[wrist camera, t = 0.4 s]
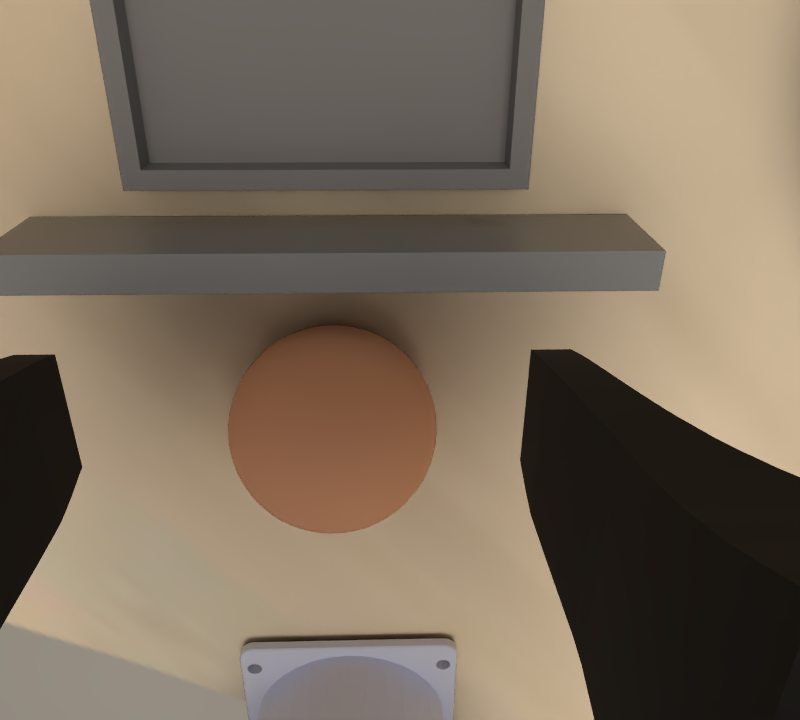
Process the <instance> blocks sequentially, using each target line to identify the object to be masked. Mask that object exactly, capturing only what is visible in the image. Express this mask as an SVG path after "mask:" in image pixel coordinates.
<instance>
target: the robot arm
mask: <svg viewBox="0 0 800 720" xmlns="http://www.w3.org/2000/svg"><path fill="white" fill-rule="evenodd" d="M520 462H521V467H522V473H523V478H524V483H525V489H526V494H527V499H528V503H529V508H530V513H531V516H532V519H533V522H534V525H535V528H536V531H537V534H538V537H539V540H540V543H541V546H542V549H543V552H544V555H545V558H546V560H547V563H548V566H549V569H550V572H551V575H552V578H553V580H554V583H555V586H556V589H557V592H558V595H559V597H560V600H561V603H562V606H563V609H564V612H565V615H566V617H567V620H568V623H569V626H570V629H571V632H572V634H573V638H574V641H575V644H576V648H577V651H578V654H579V658H580V661H581V664H582V668H583V672H584V677H585V681H586V685H587V690H588V694H589V698H590V702H591V707H592V711H593V715H594V720H800V477H798V476H795V475H793V474H790V473H788V472H786V471H783V470H781V469H779V468H776V467H774V466H772V465H770V464H768V463H766V462H763V461H761V460H759V459H757V458H755V457H753V456H751V455H748V454H746V453H744V452H742V451H740V450H738V449H735V448H734V447H732V446H730V445H728V444H726V443H724V442H722V441H720V440H718V439H716V438H714V437H712V436H710V435H709V434H707V433H705V432H703V431H702V430H700V429H698V428H696V427H695V426H693V425H691V424H689V423H687V422H686V421H684V420H682V419H680V418H679V417H677V416H675V415H674V414H672V413H670V412H669V411H667V410H665V409H664V408H662V407H661V406H659V405H657V404H656V403H654V402H653V401H651V400H649V399H648V398H646V397H645V396H643V395H642V394H640V393H639V392H637V391H636V390H634V389H633V388H631V387H630V386H628V385H627V384H625V383H623V382H622V381H620V380H619V379H618V378H616V377H615V376H613V375H612V374H610V373H609V372H607V371H606V370H604V369H603V368H601V367H600V366H598V365H597V364H595V363H593V362H592V361H590V360H589V359H587V358H586V357H584V356H582V355H581V354H579V353H577V352H575V351H573V350H571V349H563V350H531V356H530V366H529V377H528V387H527V397H526V407H525V418H524V428H523V438H522V448H521V458H520ZM81 469H82V464H81V460H80V456H79V452H78V448H77V444H76V440H75V436H74V431H73V427H72V423H71V419H70V415H69V411H68V407H67V403H66V398H65V394H64V390H63V386H62V382H61V378H60V374H59V370H58V365H57V361H56V357H55V355H12V356H9V357H5V358H2V359H0V628H1V627H2V625H3V623H4V622H5V620H6V618H7V616H8V615H9V613H10V611H11V609H12V608H13V606H14V604H15V603H16V601H17V599H18V597H19V596H20V594H21V592H22V590H23V589H24V587H25V585H26V584H27V582H28V580H29V578H30V577H31V575H32V573H33V571H34V570H35V568H36V566H37V565H38V563H39V561H40V559H41V557H42V556H43V554H44V552H45V550H46V549H47V547H48V545H49V543H50V541H51V540H52V538H53V536H54V534H55V532H56V531H57V529H58V527H59V525H60V523H61V521H62V519H63V516H64V514H65V511H66V509H67V506H68V504H69V502H70V499H71V497H72V494H73V491H74V488H75V485H76V483H77V480H78V477H79V474H80V471H81ZM440 660H443V661H440ZM456 661H457V651H456V645H455V643H454V642H453V641H452V640H449V639H445V638H431V639H384V640H338V641H291V642H253V643H248V644H246V645H244V647H243V648H242V651H241V656H240V662H241V669H242V676H243V683H244V690H245V697H246V704H247V710H248V717H249V720H453V711H454V694H455V677H456ZM254 664H257V665H254Z"/></svg>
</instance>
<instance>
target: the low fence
mask: <svg viewBox="0 0 800 720" xmlns="http://www.w3.org/2000/svg"><path fill="white" fill-rule="evenodd" d="M665 253H666V251H665V250H664V249H663V248H662V247H661V246H660V245H659V244H658V243H657V242H656V241H655V240H654V239H653V238H651V237H650V236H649V235H648V234H647V233H646V232H645V231H644V230H643V229H642V228H641V227H640V226H639V225H638V224H637V223H635V222H634V221H633V220H632V219H631V218H630V217H629V216H628V215H627V214H559V215H345V216H130V217H29V218H28V219H26V220H25V221H23V222H22V223H20V224H19V225H17V226H16V227H15V228H13V229H12V230H10V231H9V232H7V233H6V234H4V235H3V236H1V237H0V296H22V295H151V294H280V293H409V292H539V291H659V286H660V280H661V275H662V270H663V264H664V259H665Z"/></svg>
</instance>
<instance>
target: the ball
mask: <svg viewBox="0 0 800 720" xmlns="http://www.w3.org/2000/svg"><path fill="white" fill-rule="evenodd" d="M228 431H229V446H230V451H231V456H232V459H233V463H234V465H235V468H236V471H237V473H238V475H239V477H240V479H241V481H242V482H243V484H244V486H245V487H246V489H247V490H248V492H249V493H250V494H251V496H252V497H253V498H254V499H255V500H256V501H257V502H258V503H259V504H260V505H261V506H262V507H263V508H264V509H265V510H267V511H268V512H269V513H270V514H272V515H273V516H275V517H276V518H278V519H279V520H281V521H283V522H285V523H287V524H289V525H291V526H294V527H297V528H300V529H304V530H308V531H312V532H319V533H345V532H351V531H356V530H360V529H363V528H367V527H369V526H371V525H374V524H376V523H378V522H380V521H382V520H384V519H385V518H387V517H388V516H390V515H391V514H393V513H394V512H396V511H397V510H398V509H399V508H400V507H402V506H403V505H404V504H405V503H406V502H407V501H408V499H409V498H410V497H411V496H412V495H413V494H414V492H415V491H416V490H417V489H418V487H419V486H420V484H421V482H422V481H423V479H424V477H425V475H426V473H427V470H428V468H429V466H430V464H431V460H432V456H433V453H434V448H435V442H436V414H435V409H434V404H433V400H432V397H431V394H430V391H429V388H428V386H427V384H426V382H425V380H424V379H423V377H422V375H421V373H420V372H419V370H418V369H417V367H416V366H415V365H414V363H413V362H412V361H411V360H410V359H409V358H408V357H407V356H406V355H405V354H404V353H403V352H402V351H401V350H400V349H399V348H397V347H396V346H395V345H393V344H392V343H391V342H389V341H387V340H386V339H384V338H382V337H381V336H378V335H376V334H374V333H371V332H369V331H366V330H362V329H359V328H355V327H349V326H338V325H327V326H317V327H312V328H307V329H304V330H301V331H298V332H295V333H293V334H291V335H288V336H286V337H284V338H283V339H281V340H279V341H278V342H276V343H275V344H273V345H271V346H270V347H269V348H268V349H266V350H265V351H264V352H263V353H262V354H261V355H260V356H259V357H258V358H257V359H256V360H255V361H254V362H253V364H252V365H251V366H250V367H249V368H248V370H247V371H246V373H245V374H244V376H243V378H242V379H241V381H240V384H239V386H238V388H237V390H236V392H235V395H234V398H233V401H232V405H231V409H230V414H229V424H228Z"/></svg>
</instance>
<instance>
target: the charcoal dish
mask: <svg viewBox="0 0 800 720" xmlns="http://www.w3.org/2000/svg"><path fill="white" fill-rule="evenodd" d="M90 5H91V11H92V16H93V22H94V28H95V33H96V39H97V45H98V50H99V56H100V62H101V67H102V73H103V79H104V84H105V90H106V96H107V101H108V107H109V112H110V118H111V124H112V129H113V135H114V141H115V146H116V152H117V158H118V163H119V169H120V175H121V180H122V186H123V191H233V190H507V189H528V188H529V177H530V166H531V154H532V143H533V132H534V120H535V109H536V98H537V86H538V75H539V64H540V52H541V41H542V30H543V18H544V7H545V0H90Z"/></svg>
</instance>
